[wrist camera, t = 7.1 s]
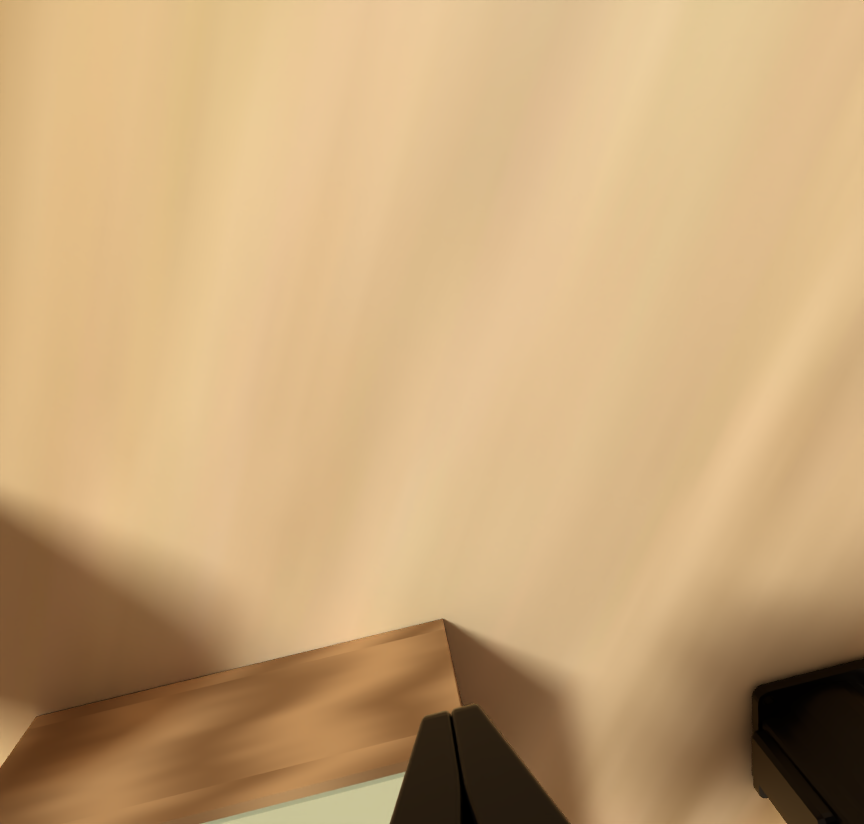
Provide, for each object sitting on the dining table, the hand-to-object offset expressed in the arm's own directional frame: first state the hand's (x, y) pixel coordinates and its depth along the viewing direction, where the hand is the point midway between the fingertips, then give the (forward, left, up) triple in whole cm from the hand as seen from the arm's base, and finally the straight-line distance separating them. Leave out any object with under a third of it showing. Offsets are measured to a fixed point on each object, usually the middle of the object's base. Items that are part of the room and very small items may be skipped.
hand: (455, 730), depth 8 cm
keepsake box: (+8, +12, -12) cm, 19 cm away
